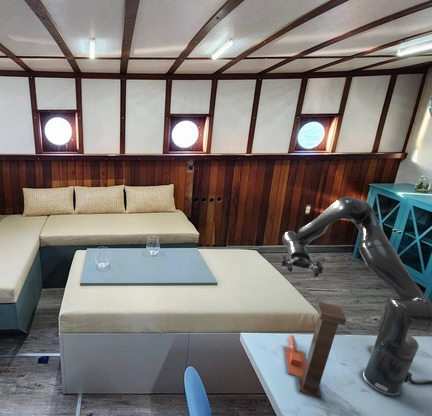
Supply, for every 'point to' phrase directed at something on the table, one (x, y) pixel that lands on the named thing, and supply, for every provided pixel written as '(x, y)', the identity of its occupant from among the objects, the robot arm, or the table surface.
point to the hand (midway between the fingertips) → (303, 272)
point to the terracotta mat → (293, 368)
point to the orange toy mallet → (294, 353)
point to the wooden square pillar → (320, 348)
